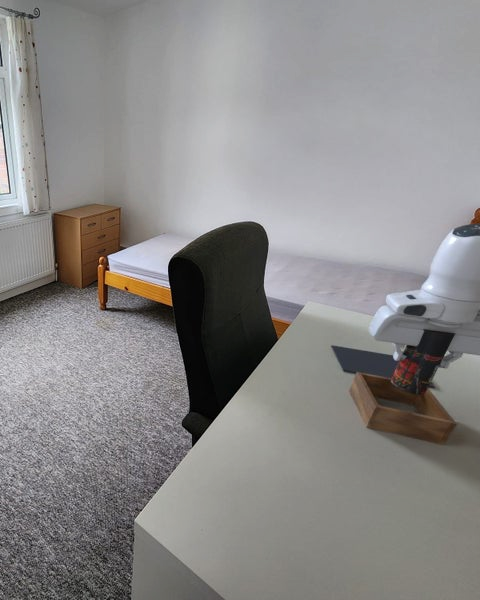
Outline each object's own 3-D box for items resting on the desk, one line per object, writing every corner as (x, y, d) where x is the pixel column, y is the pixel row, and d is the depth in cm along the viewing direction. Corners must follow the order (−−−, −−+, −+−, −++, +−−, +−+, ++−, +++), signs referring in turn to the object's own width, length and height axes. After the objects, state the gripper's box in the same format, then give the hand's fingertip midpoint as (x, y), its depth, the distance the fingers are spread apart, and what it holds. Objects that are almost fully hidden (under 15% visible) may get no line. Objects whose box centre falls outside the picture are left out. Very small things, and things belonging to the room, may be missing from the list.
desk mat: (410, 359, 100) (411, 358, 100) (434, 388, 89) (435, 386, 88) (331, 346, 107) (331, 345, 107) (343, 371, 96) (343, 369, 95)
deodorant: (392, 374, 80) (417, 318, 74) (427, 385, 76) (456, 327, 70) (389, 386, 76) (414, 328, 70) (425, 398, 73) (455, 338, 66)
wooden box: (415, 404, 83) (425, 384, 81) (444, 445, 72) (457, 424, 69) (349, 390, 88) (356, 371, 86) (366, 427, 77) (375, 406, 74)
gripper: (505, 307, 67) (473, 364, 73) (378, 293, 74) (358, 347, 80) (529, 321, 62) (492, 382, 67) (389, 305, 69) (366, 361, 75)
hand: (418, 363), depth 74 cm, fingers closed on deodorant, 6 cm apart
